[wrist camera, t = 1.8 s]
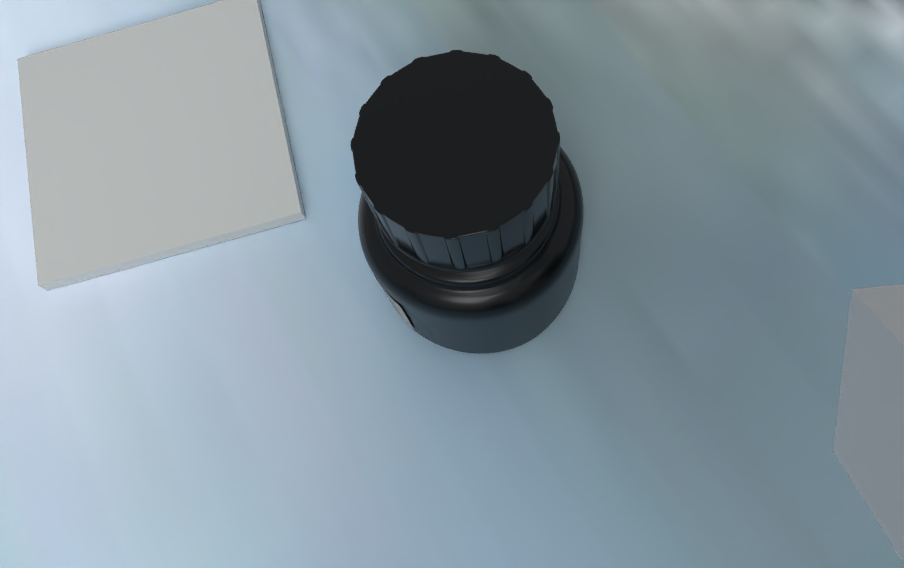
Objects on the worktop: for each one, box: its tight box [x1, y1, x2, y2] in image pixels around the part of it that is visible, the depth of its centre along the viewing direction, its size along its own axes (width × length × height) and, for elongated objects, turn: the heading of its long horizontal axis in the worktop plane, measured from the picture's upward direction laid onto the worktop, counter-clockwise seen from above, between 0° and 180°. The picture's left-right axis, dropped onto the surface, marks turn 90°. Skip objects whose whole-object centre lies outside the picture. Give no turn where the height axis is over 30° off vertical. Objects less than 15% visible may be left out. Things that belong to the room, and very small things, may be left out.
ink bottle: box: [351, 50, 583, 353], centre depth 32 cm, size 10×9×12 cm
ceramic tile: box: [18, 0, 306, 290], centre depth 41 cm, size 13×13×1 cm
